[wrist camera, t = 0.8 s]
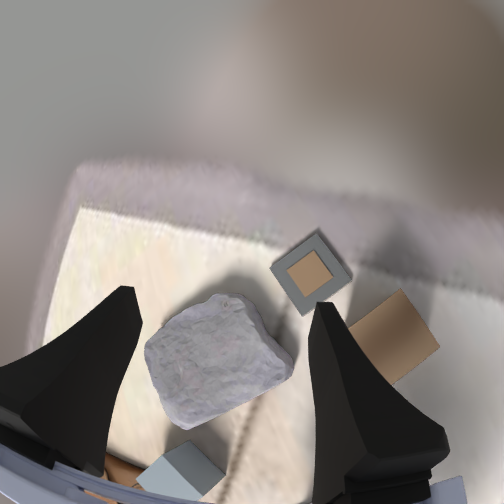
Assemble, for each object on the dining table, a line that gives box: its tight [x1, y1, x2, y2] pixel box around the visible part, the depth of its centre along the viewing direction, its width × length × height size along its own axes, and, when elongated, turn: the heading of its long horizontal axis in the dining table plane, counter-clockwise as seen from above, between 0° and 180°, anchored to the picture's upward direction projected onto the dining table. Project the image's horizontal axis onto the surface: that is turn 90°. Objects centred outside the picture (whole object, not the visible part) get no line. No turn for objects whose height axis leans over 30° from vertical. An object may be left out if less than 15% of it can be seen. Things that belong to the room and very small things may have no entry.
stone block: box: [144, 293, 294, 430], centre depth 26 cm, size 12×5×10 cm
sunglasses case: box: [85, 452, 146, 504], centre depth 26 cm, size 18×7×7 cm, turn 86°
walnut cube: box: [348, 288, 440, 385], centre depth 21 cm, size 5×5×5 cm
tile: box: [270, 233, 352, 316], centre depth 26 cm, size 5×5×1 cm
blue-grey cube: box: [136, 440, 226, 501], centre depth 23 cm, size 5×5×5 cm
